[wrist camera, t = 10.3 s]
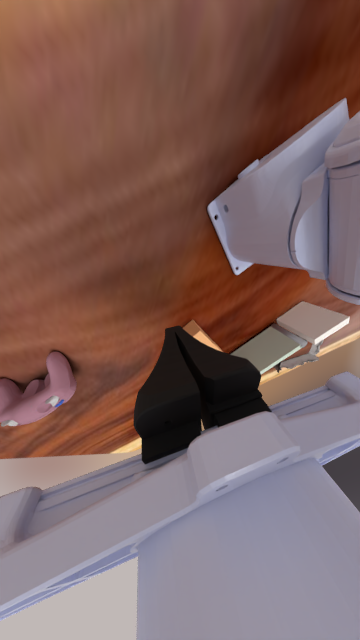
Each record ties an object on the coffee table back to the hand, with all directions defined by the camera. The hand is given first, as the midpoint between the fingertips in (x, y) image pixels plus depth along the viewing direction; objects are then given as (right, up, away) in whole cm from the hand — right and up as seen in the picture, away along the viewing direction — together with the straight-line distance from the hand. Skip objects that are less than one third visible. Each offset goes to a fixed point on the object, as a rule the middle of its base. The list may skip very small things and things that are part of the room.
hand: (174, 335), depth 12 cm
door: (+12, -6, +16) cm, 21 cm away
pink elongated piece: (-20, -7, +8) cm, 23 cm away
